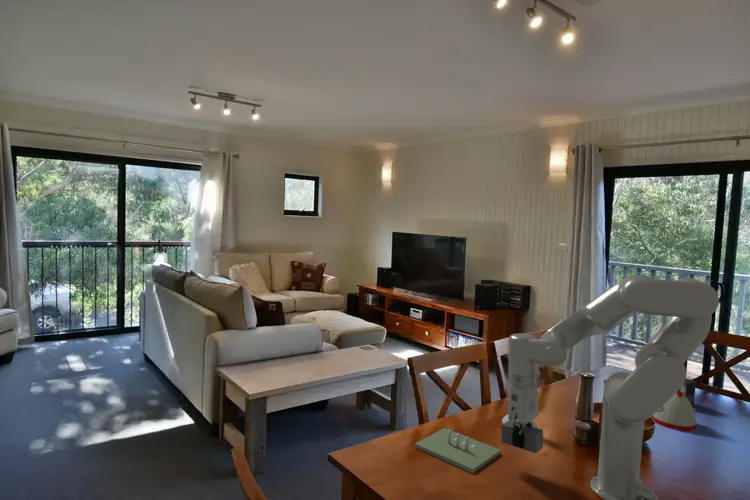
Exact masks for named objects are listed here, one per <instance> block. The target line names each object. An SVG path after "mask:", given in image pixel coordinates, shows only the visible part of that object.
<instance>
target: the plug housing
mask: <svg viewBox="0 0 750 500" xmlns="http://www.w3.org/2000/svg"><path fill="white" fill-rule="evenodd" d="M509 421H510V420H509ZM509 421H507V422H506V423H504V424H503V423H502V424H501V443H502V444H506V445H508V446H512V447H515V448H518V449H521V450H524V451H527V452H530V453H533V454H537V453H539V452H540V451H541V450H542V449H543V448H544V429H541V428H538V427H537V428H535V427H531V426H528V425H523V434H524V448H519V447H516V446H513V445H512V431H511V428H510V427H509ZM516 426H518V427H519V428H520V424H516Z"/></svg>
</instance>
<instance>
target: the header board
mask: <svg viewBox="0 0 750 500" xmlns="http://www.w3.org/2000/svg"><path fill="white" fill-rule="evenodd" d="M414 448H416V449H417V450H420V451H422V452H424V453H425V454H428V455H431V456H433V457H435V458H438V459H440V460H442V461H444V462H447V463H449V464H451V465H453V466H455V467H457V468H460V469H462V470H464V471H466V472H468V473H471V474H474V473H476V472H477V471H479V470H480V469H482V468H483V467H484V466H487V464H489V463H490V462H491V461H494V459H496V458H497V457H498V456H499V455H501V453H502V452H501V449H499V448H497V447H494V446H492V445H489V444H486V443H484V442H481V441H479V440H477V439H473V438H471V437H469V436H466V435H463V434H461V433H460V432H455V431H453V430H452V429H448V428H446V427H443V428H442V429H440V430H438V431H436V432H434V433H432V434H431V435H429V436H427V437H424V438H421V440H419V441H417V442H415V443H414Z"/></svg>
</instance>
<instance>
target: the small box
mask: <svg viewBox="0 0 750 500" xmlns="http://www.w3.org/2000/svg"><path fill="white" fill-rule="evenodd" d="M696 385H697V381H696V380H695V381H694V380H692V379H689V378H685V381H684V383H683V385H682V387H681V391H680V392H683V395H684V396H686V398H687V399H688V400H689V402H690V403H691V405H692V407H693V408H695V394H696V387H697V386H696Z"/></svg>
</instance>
